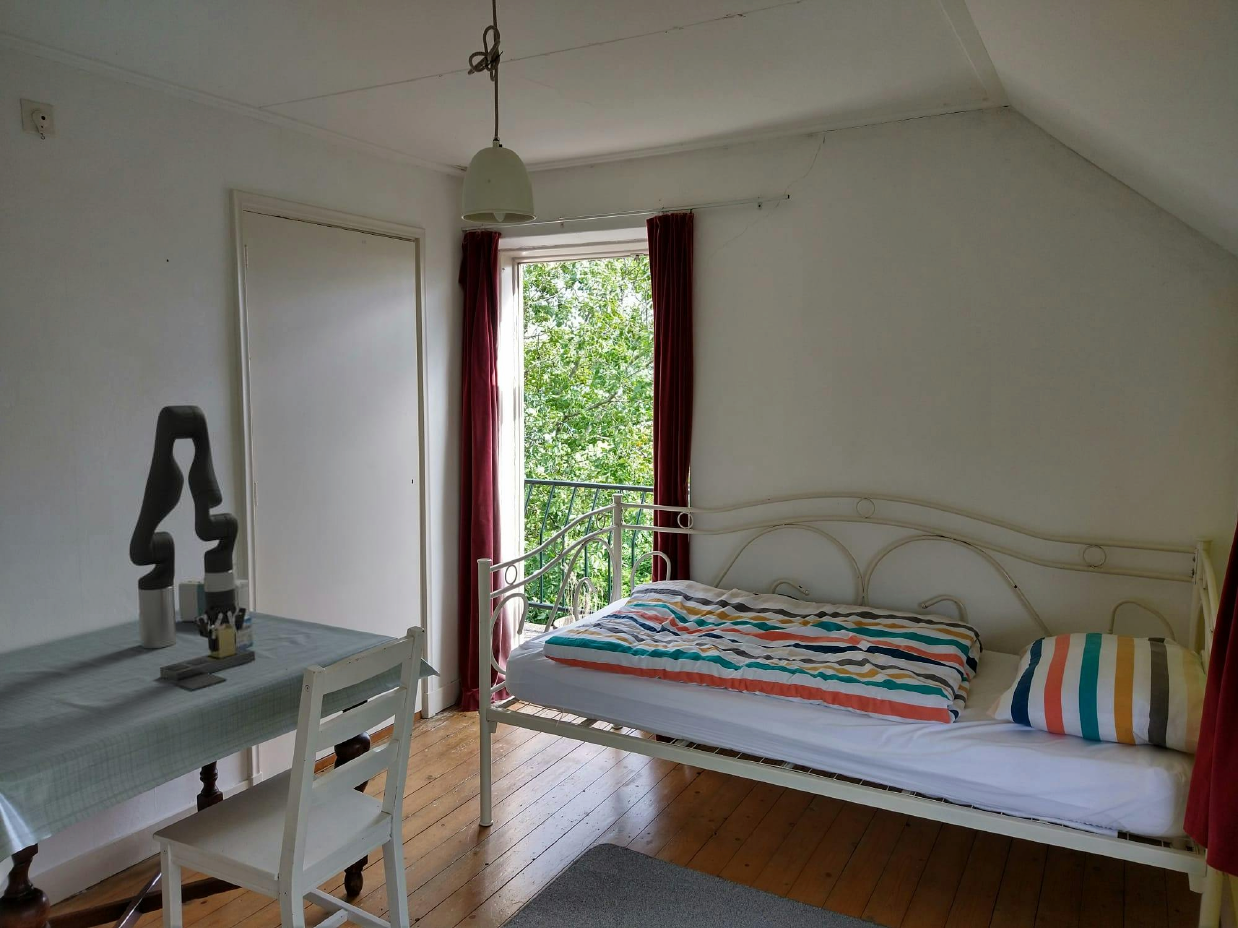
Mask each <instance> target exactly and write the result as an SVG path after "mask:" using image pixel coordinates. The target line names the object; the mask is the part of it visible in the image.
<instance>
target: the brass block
mask: <svg viewBox="0 0 1238 928" xmlns="http://www.w3.org/2000/svg"><path fill="white" fill-rule="evenodd" d="M216 632H217V634H216V638H217V652H211V651H210V650H209V653H210V658H213V659H217V660H221V659H225V658H228V657H232V656H235V635H234V628H233V627H229V626H225V625H224V626H222V625H220V627H219V630H218V631H216Z"/></svg>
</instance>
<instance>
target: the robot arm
mask: <svg viewBox="0 0 1238 928" xmlns="http://www.w3.org/2000/svg"><path fill="white" fill-rule="evenodd" d="M157 416H158V417H157V421H156V429H155V438H154V447H153V453H152V460H151V463H150V467H149V472H148V476H147V479H146V484H145V488H144V494H143V499H142V503H141V508H140V511H139V512H140V513H139V515H138V519H137V522H136V523H135V527H134V529H133V533H132V536H131V538H130V544H129V551H128V552H129V553H128V555H129V558H130V561H131V562H132V564H133V565H134V566H138V567H144V566H151V565H154V567H153V568H152V570H151V571H149V572H147V573H146V574H144V575H142V576H141V577H139V578H138V580H137V589H138V590H137V591H138V594H137V595H138V608H139V609H138V610H139V612H138V619H139V620H138V621H139V640H140V642H139V643H140V646H141V647H142V648H143V649H161V648H164V647H169V646H172V645H175V644H176V643H177V642H178V641H177V623H176V607H175V606H176V604H175V603H176V602H175V584H174V580H175V573H176V569H175V568H176V567H175V566H176V565H175V564H176V563H175V562H176V560H175V559H176V556H175V555H176V550H175V549H176V548H175V547H176V546H175V541H174V537H173V535H172V534H171V533H170V532H169V531H166V530H165V531H156V530H157V528H158V526H159V525H160V523H161V522H163V520H164V519H165V518H166V517H167V516H168V515H169V514H170V513H171V512H172V511H173V510H174V509H175V508H176V506H177V505H178V503H179V502H180V499H181V497H182V492H183V488H184V484H185V477H184V474H183V472H182V469H181V468H180V466H179V464H178V462H177V461H176V459H175V455H174V446H175V442H176V441H177V440H186V439H187V440H188V439H190V440H191V441H192V443H193V447H194V455H193V459H192V462H191V465H190V469H189V472H188V475H187V481H188V487H189V491H190V494H191V497H192V501H193V505H194V532H195V536H197V538H198V539H199V540H201V541H202V542H205V543H206V542H213V541H218V543H217V545H216V546H215V547H213V548H210V549H208V550H205V552H204V555H203V564H204V566H203V568H204V576H203V577H204V578H203V579H204V593H205V606H206V611H205V614H204V615H202V616H200V617H195V621H194V622H195V624H196V627H197V630H198V633H199V635H200V637H201V638H206V639H207V643H208V650H209V652H210V651H211V652H217V638H216V634H217V632H216V631H218V630H219V627H220V626H222V624H224V625H225V626H229V627H233V628H234V635H235V644H236V632H237V631H238V630H241V629H242V627H243V622H244V618H245V613H246V608H242V607H238V608H237V607H236V606H235V580H236V579H235V574H234V566H233V565H234V560H233V554H234V550H235V546H236V540H237V538H238V533H239V523H238V520H237V518H236V516H235V515H234V514H233V513H230V512H223V513H222V512H221V513H213V514H211V513H210V511H211V509H214V508H216V507H219V506H220V505H221V504H222V503H223V496H222V493H221V489H220V486H219V483H218V478H217V476H216V473H215V469H214V464H213V458H212V457H213V456H212V450H211V449H212V447H211V442H210V441H211V440H210V435H209V429H208V421H207V418H206V416H205V413H204V411H203V409H202V408H201V407H199V406H198V405H192V404H191V405H184V404H183V405H166V406H164V407H162V408H161V409H160V412H159V413H158V415H157ZM234 614H236V616H235V621H234V620H233V615H234ZM206 619H208V620H209V622H207V621H206ZM207 623H208V624H207Z"/></svg>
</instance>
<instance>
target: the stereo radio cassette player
mask: <svg viewBox="0 0 1238 928" xmlns="http://www.w3.org/2000/svg"><path fill="white" fill-rule="evenodd" d="M243 561H244V559H241V560H240V561H237V562H236V563H233V567H234V566H235V565H237V564H239V563H241V562H243ZM249 584H250V583H249V580H248V579H235V606H236V607H237V608H238V607H242V608H246V613H245V616H248V617H250V606H249V604H250V603H249V602H250V601H249ZM178 610H179V616H180V620H183V621H184V622H186V621H187V622H195V617H200V616H202V615H204V614H205V611H206V606H205V593H204V578H203V577H202V578H201V577H200V578H199V577H198V578H197V577H196V578H191V579H187V580H185V581H182V582H179V584H178ZM235 616H236V614H234V615H233V619H234V618H235ZM206 621H207V622H206V623H209V620H208V619H206Z"/></svg>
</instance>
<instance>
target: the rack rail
mask: <svg viewBox="0 0 1238 928" xmlns="http://www.w3.org/2000/svg"><path fill="white" fill-rule="evenodd" d="M255 653H256V652H255V650H250V649H248V648H246V649H244V648H240V647H235V656H232V657H228V658H225V659H221V660H217V659H213V658H210V654H206V655H202V656H199V657H195V658H190V659H188V660H183V661H180V662H175V663H173V664H169V665H165V666H162V667H160V668H159V669H160V670H159V671H160V672H159V673H160V674H159V675H160V676H159V677H160V678H162V679H166V680H169V681H171V680H172V682H174V681H175V682H177V681H180V680H184V679H187V678H191V677H194V676H198V675H201V674H204V673H209V674H211V673H216V672H218V671H222V670H226V669H229V668H232V667H236V666H240V665H242V664H241V663H243V664H247V663H250V662H253V661H252V660H254V661H255V660H256V654H255ZM246 662H247V663H246ZM225 668H226V669H225ZM215 671H216V672H215Z"/></svg>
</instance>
